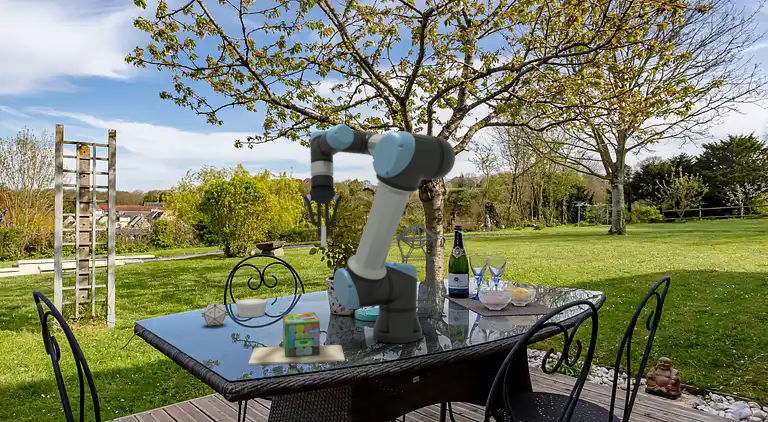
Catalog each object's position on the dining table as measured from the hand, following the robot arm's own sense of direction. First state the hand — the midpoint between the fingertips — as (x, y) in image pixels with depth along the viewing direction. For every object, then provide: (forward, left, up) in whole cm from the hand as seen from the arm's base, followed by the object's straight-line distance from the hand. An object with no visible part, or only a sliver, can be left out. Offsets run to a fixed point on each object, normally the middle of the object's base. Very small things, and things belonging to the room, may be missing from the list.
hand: (323, 246), depth 156 cm
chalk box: (+7, +18, -22) cm, 30 cm away
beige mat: (+7, +27, -27) cm, 39 cm away
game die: (+35, -11, -28) cm, 46 cm away
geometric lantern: (-36, -20, -28) cm, 49 cm away
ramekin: (+25, -28, -28) cm, 47 cm away
